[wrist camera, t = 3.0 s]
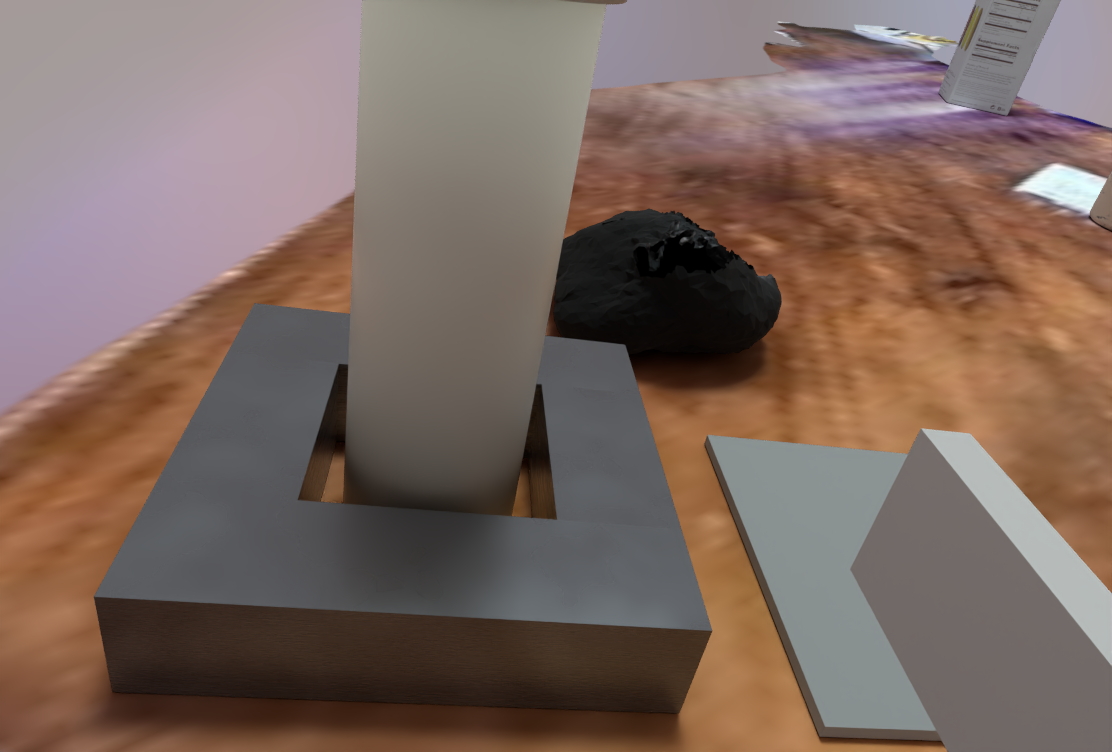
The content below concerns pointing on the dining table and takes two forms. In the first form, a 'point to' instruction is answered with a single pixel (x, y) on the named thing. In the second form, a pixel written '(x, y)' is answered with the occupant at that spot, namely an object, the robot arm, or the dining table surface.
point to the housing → (404, 552)
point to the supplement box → (996, 53)
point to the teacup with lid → (1103, 206)
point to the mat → (822, 576)
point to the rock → (660, 287)
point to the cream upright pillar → (458, 239)
